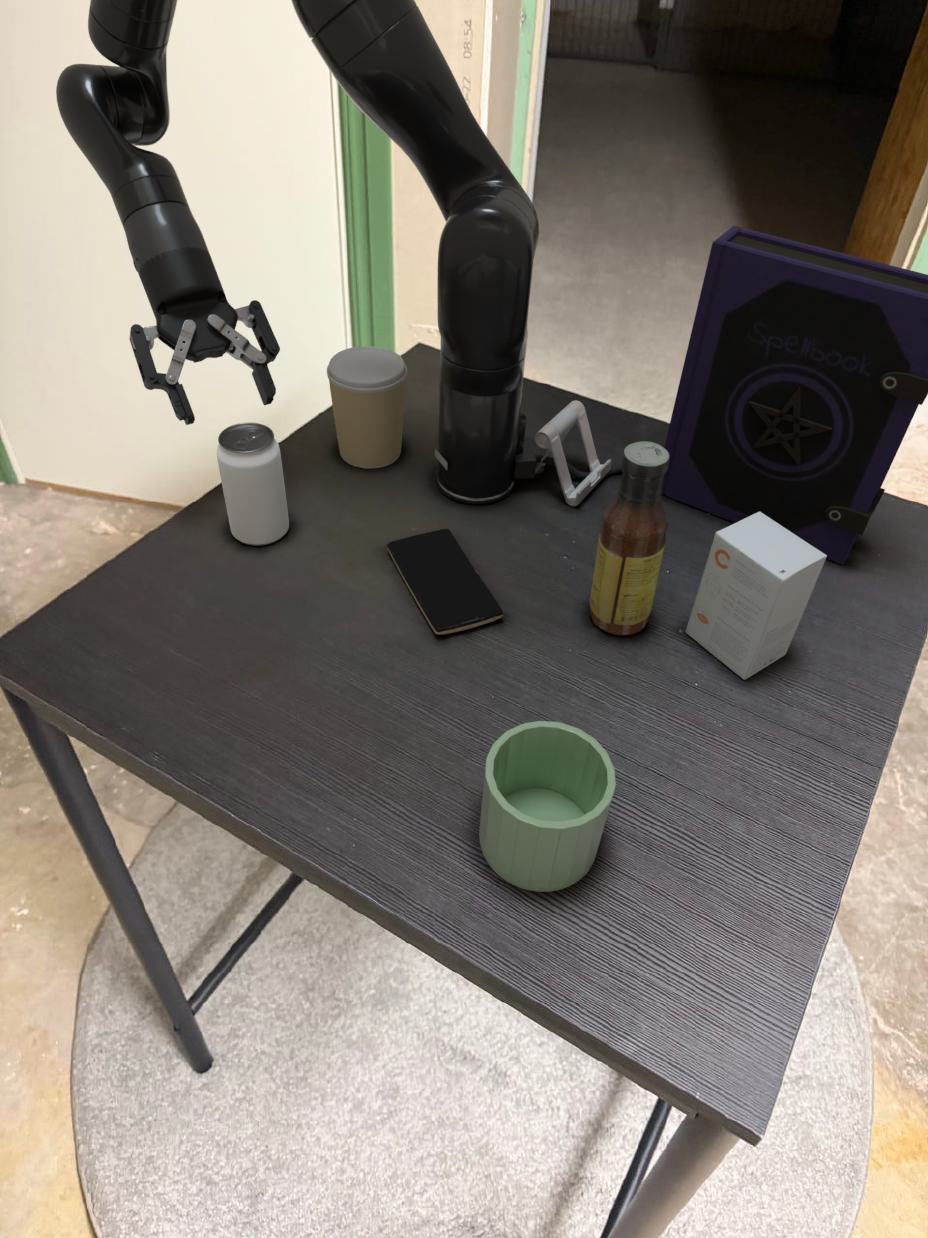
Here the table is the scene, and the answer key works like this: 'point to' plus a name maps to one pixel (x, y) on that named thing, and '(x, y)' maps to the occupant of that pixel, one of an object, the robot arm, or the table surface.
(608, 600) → the sauce bottle
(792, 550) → the small box
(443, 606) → the smartphone
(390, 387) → the coffee cup
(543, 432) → the tablet stand
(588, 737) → the holder
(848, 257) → the book
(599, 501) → the table surface
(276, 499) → the can
